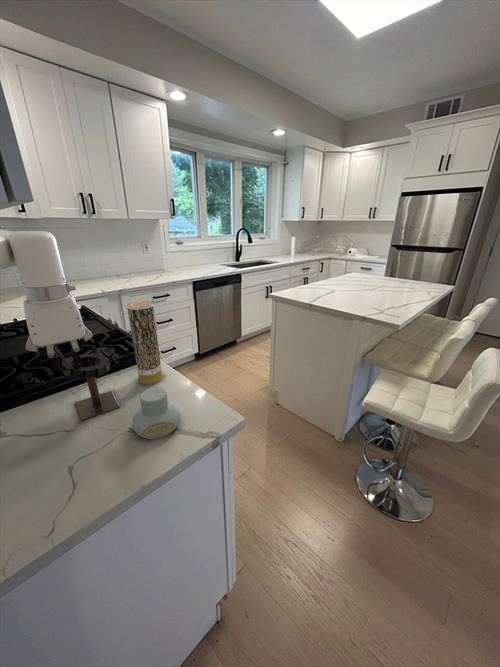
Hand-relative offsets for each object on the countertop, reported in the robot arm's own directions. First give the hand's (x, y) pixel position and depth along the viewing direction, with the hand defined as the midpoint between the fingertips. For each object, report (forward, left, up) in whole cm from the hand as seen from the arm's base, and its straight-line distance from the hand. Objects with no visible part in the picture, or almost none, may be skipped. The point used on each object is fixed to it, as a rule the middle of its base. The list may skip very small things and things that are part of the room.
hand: (68, 367), depth 66 cm
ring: (+4, 0, -2) cm, 4 cm away
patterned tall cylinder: (+20, +5, -14) cm, 25 cm away
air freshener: (+14, -17, -14) cm, 26 cm away
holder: (+4, 0, -14) cm, 15 cm away
